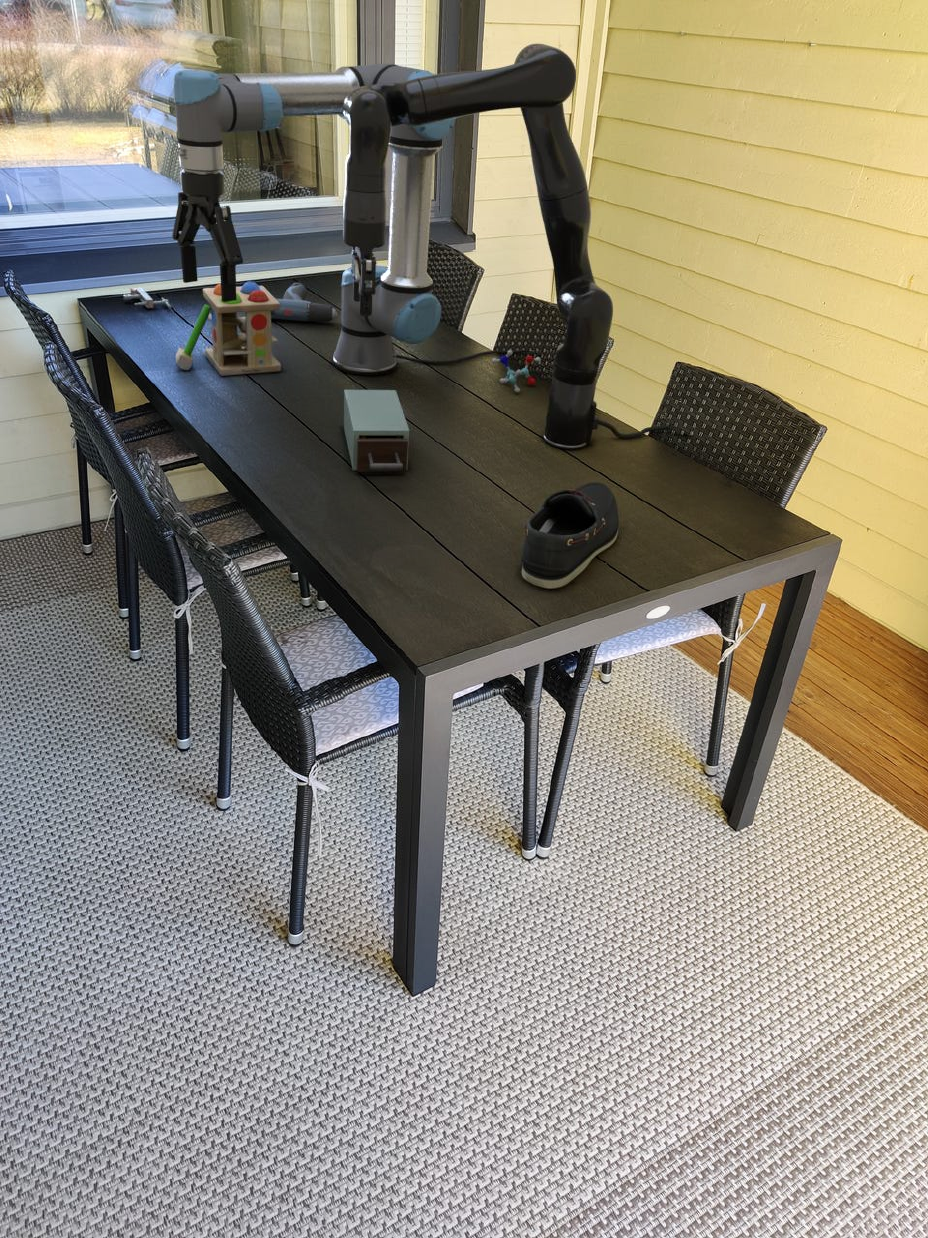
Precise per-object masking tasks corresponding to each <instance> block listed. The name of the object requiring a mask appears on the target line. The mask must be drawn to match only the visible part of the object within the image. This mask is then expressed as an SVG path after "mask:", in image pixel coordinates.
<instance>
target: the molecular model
mask: <svg viewBox="0 0 928 1238" xmlns="http://www.w3.org/2000/svg"><path fill="white" fill-rule="evenodd" d="M508 350H509V351H508V352H507V353H506V354H505V355H502V356H501V357H500V358H495V357H493V358H492V359H491V362H492V364H497V363H499V362H500V363H501V364H504V365H505V368H506V370H507V372H506V375H507V376H506V377H504V378H500V379H499V383H500V384H501V385H505V384H507V383H509V384H511V385H513V387H514V392H515V393H517V394H518V393H520V392H521V388H520V387H518V385H517V383H516V382H517V378H518V376H524V377H525V378H526V381H528V385H529V386H532V387H533V386H535V385H536V380H535V379H534V378H532V376H531V375H530V374H529V369H528V367H529V365H530V363H532V362H536V363H540V362H541V357H536V358H535V357H532V356H531V355H527V356H526V357H525V361H526V363H525V367H523V368H522V369H517V370H516V371H514V370H513V369H511V368H510V366H509V364H508V361H509V360H508V358H509V357H510V356H512V355H513V354H514V353H513V352H512V351H511V350H512V349H508Z"/></svg>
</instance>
